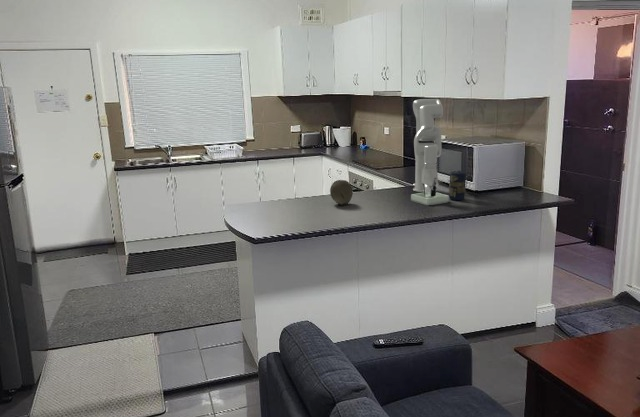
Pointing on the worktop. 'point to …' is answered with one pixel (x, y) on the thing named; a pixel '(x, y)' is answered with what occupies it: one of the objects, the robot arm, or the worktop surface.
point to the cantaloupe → (341, 192)
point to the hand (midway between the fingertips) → (429, 194)
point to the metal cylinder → (428, 191)
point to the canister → (457, 185)
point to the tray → (429, 199)
